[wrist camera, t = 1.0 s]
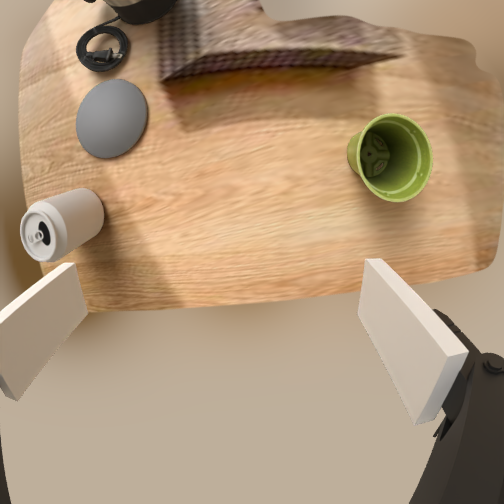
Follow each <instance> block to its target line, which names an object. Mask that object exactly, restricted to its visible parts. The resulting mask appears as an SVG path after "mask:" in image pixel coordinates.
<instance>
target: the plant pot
mask: <svg viewBox="0 0 504 504" xmlns="http://www.w3.org/2000/svg"><path fill="white" fill-rule="evenodd" d="M376 139H379V140H380V141H381V142H382V145H383V146H381V145H380V144H379V142H378V141H377V140H376ZM368 152H370V153H371V156H368ZM347 158H348V162H349V164H350V166H351V168H352V169H353V170H354V171H355V172H356V173H357V174H358V175H360V176H361V178H362V180H363V182H364V183H365V185H366V186H367V187H368V189H369V190H370V191H371V192H372V193H374V194H375V195H376V196H378V197H379V198H381V199H383V200H386V201H390V202H404V201H407V200H410V199H412V198H414V197H415V196H416V195H418V194H419V193H420V192H421V191H422V189H423V188H424V187H425V186H426V184H427V182H428V180H429V178H430V174H431V171H432V165H433V154H432V148H431V145H430V142H429V139H428V137H427V135H426V133H425V132H424V131H423V129H422V128H421V127H420V126H419V125H418V124H417V123H416V122H415V121H413V120H412V119H410V118H408V117H406V116H404V115H400V114H393V113H390V114H384V115H381V116H378V117H376V118H375V119H373V120H372V121H370V122H369V123H368V124H367V125H366V127H365V128H364V130H363V131H362V132H360V133H358V134H356V135H355V136H354V137H353V138H352V139H351V140H350V142H349V144H348V147H347ZM381 163H383V166H382V167H381V168H380V169H379V170H376V168H378V167H379V166H380V164H381Z"/></svg>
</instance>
